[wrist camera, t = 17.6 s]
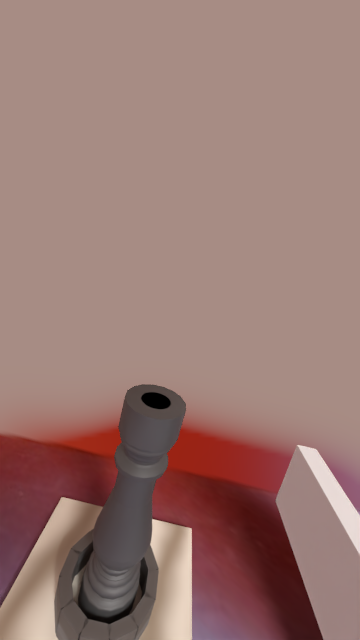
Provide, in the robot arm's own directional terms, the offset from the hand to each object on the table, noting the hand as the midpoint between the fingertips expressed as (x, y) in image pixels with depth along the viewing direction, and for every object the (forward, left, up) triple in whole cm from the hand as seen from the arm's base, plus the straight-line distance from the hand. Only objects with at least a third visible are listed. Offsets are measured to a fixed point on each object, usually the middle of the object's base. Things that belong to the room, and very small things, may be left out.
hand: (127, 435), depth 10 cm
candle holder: (-1, -13, -31) cm, 33 cm away
